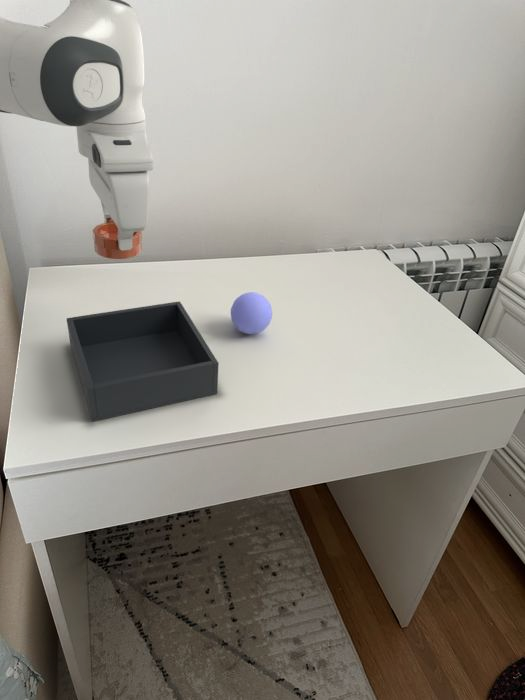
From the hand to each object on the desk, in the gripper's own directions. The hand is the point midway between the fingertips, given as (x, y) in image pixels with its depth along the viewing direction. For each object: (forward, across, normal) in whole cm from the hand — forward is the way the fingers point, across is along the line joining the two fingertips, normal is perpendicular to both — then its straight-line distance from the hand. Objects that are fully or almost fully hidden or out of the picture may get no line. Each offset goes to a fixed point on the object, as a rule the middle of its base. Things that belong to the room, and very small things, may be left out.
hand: (118, 237), depth 79 cm
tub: (+16, +11, 0) cm, 20 cm away
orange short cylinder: (+2, 0, 0) cm, 2 cm away
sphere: (+16, +7, +20) cm, 27 cm away
